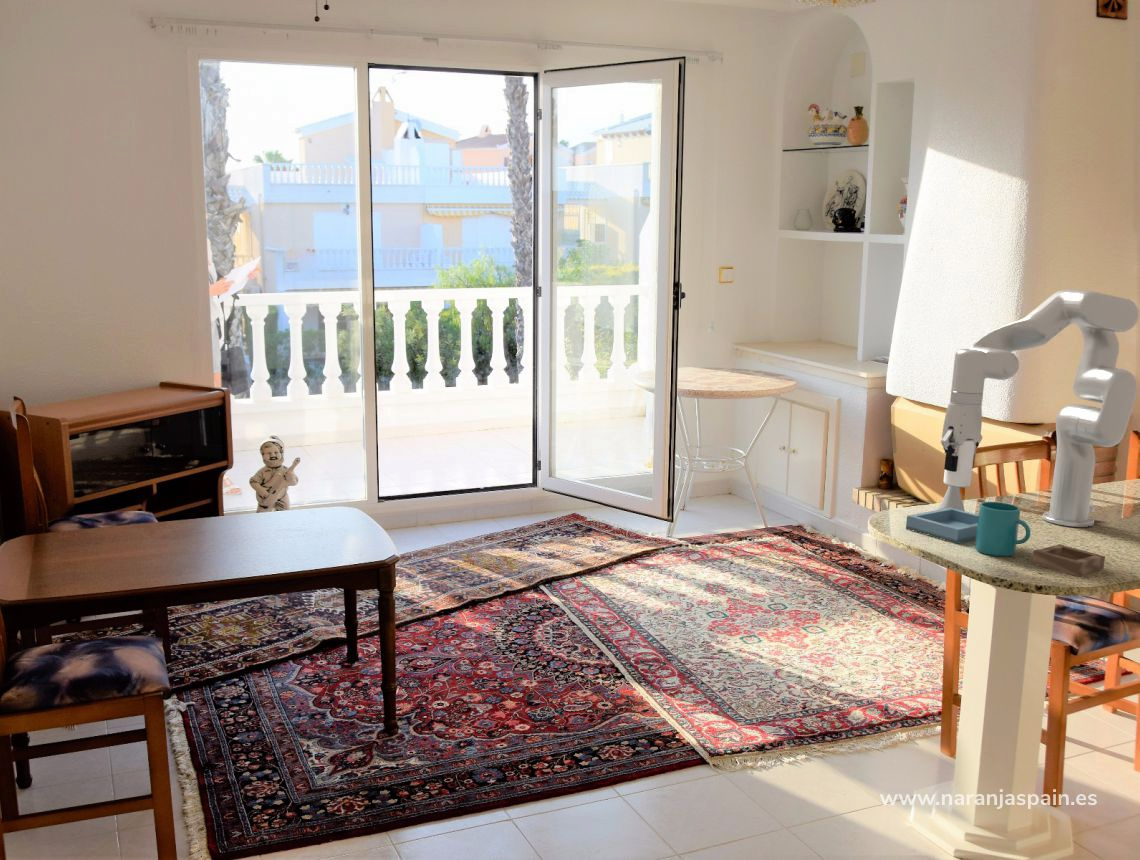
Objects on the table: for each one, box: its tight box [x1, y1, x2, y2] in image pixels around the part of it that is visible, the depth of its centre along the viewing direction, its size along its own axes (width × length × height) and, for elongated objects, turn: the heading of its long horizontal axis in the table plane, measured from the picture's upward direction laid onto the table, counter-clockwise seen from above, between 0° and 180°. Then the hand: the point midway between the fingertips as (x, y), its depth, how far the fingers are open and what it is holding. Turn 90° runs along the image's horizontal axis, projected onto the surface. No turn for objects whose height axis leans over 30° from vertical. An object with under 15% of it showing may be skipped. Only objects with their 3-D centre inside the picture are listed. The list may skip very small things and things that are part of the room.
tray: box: [905, 508, 979, 544], centre depth 273 cm, size 18×15×4 cm
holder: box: [1031, 543, 1106, 577], centre depth 247 cm, size 11×11×3 cm
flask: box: [937, 486, 966, 512], centre depth 293 cm, size 7×7×10 cm
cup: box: [974, 501, 1032, 558], centre depth 255 cm, size 9×12×11 cm
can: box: [943, 439, 975, 488], centre depth 270 cm, size 6×6×12 cm
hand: (958, 468), depth 271 cm, fingers closed on can, 6 cm apart
